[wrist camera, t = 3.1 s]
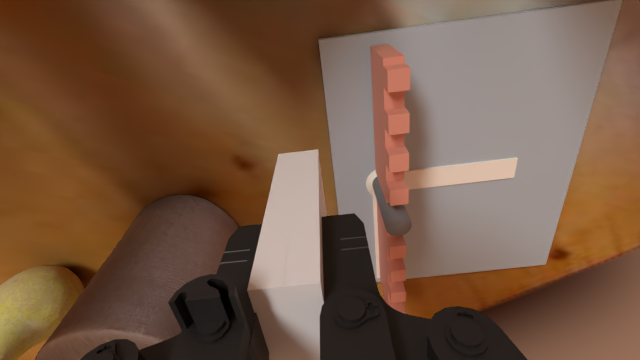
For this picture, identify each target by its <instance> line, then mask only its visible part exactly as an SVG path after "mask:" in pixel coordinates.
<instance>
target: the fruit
mask: <svg viewBox="0 0 640 360" xmlns="http://www.w3.org/2000/svg"><path fill="white" fill-rule="evenodd" d="M83 290H84V286H83V284H82V282H81V281H80V279H79V278H78V277H77V276H76V275H75V274H74V273H73V272H72V271H70V270H69V269H68V268H65V267H62V266H57V265H44V266H37V267H33V268H30V269H27V270H24V271H22V272H20V273H18V274H16V275H15V276H13V277H11V278H10V279H8V280H7V281H6V282H4V283H3V284H1V285H0V360H17V359H18V358H19V357H20V356H21V355H23V354H24V353H25V352H26V351H27V350H29V349H30V348H32V347H34V346H35V345H37V344H39V343H41V342H43V341H45V340H47V339H48V338H49V337H50V336H51V335H52V333H53V332H54V331H55V329H56V328H57V326H58V325H59V324H60V322H61V320H62V319H63V318H64V316H65V315H66V314H67V312H68V311H69V310H70V308H71V307H72V305H73V304H74V303H75V302H76V300H77V299H78V297H79V296H80V294H81V293H82V292H83Z"/></svg>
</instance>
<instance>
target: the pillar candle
mask: <svg viewBox="0 0 640 360" xmlns="http://www.w3.org/2000/svg"><path fill="white" fill-rule="evenodd" d="M237 229H238V225H237V223H236V222H235V221H234V219H233V218H232V217H230V216H229V215H228V214H227V213H226V212H224V211H223V210H222V209H221V208H219V207H218V206H216V205H215V204H213V203H212V202H210V201H208V200H206V199H203V198H200V197H197V196H191V195H171V196H167V197H163V198H160V199H158V200H156V201H154V202H153V203H151V204H150V205H147V206H146V207H144V208H143V210H142V211H141V212H140V213H139V214H138V216H137V217H136V219H135V220H134V222H133V223H132V224H131V226H130V227H129V229H128V230H127V231H126V233H125V234H124V236H123V237H122V239H121V240H120V241H119V243H118V244H117V245H116V247H115V248H114V250H113V251H112V253H111V254H110V255H109V257H108V258H107V259H106V261H105V262H104V263H103V265H102V266H101V267H100V269H99V270H98V272H97V273H96V274H95V275H94V277H93V278H92V279H91V281H90V282H89V284H88V285H87V286H86V288H85V289H84V290H83V292H82V293H81V294H80V296H79V297H78V299H77V300H76V302H75V303H74V304H73V305H72V307H71V308H70V310H69V311H68V312H67V314H66V315H65V316H64V318H63V319H62V320H61V322H60V324H59V325H58V326H57V328H56V329H55V331H54V332H53V333H52V335H51V336H50V337H49V339H48V340H47V342H46V343H45V344H44V345H43V347H42V348H41V350H40V351H39V352H38V354H37V356H36V358H35V360H80V359H81V358H82V357H83V356H84V355H85V354H87V353H88V352H90V351H91V350H93V349H94V348H96V347H97V346H99V345H101V344H103V343H106V342H109V341H112V340H114V339H128V340H130V341H132V342H134V343H135V344H136V346H137V347H138V349H139V350H140V349H143V348H146V347H148V346H151V345H154V344H156V343H159V342H162V341H164V340H167V339H169V338H172V337H174V336H176V335H178V334H180V333H181V331H182V330H181V328H180V326H179V324H178V322H177V320H176V318H175V316H174V314H173V312H172V310H171V308H170V306H169V304H168V302H169V300H170V299H171V298H172V296H173V295H174V293H175V292H176V291H177V290H178V289H180V288H181V287H182V286H183V285H184V284H186V283H187V282H189V281H191V280H193V279H195V278H197V277H201V276H205V275H209V274H216V273H217V270H218V268H219V265H220V264H221V259H222V256H223V254H224V253H225V252H224V251H225V248H226V245H227V242H228V239H229V238H230V236H231V235H232V234H233V233H234V232H235V231H236V230H237Z"/></svg>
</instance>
